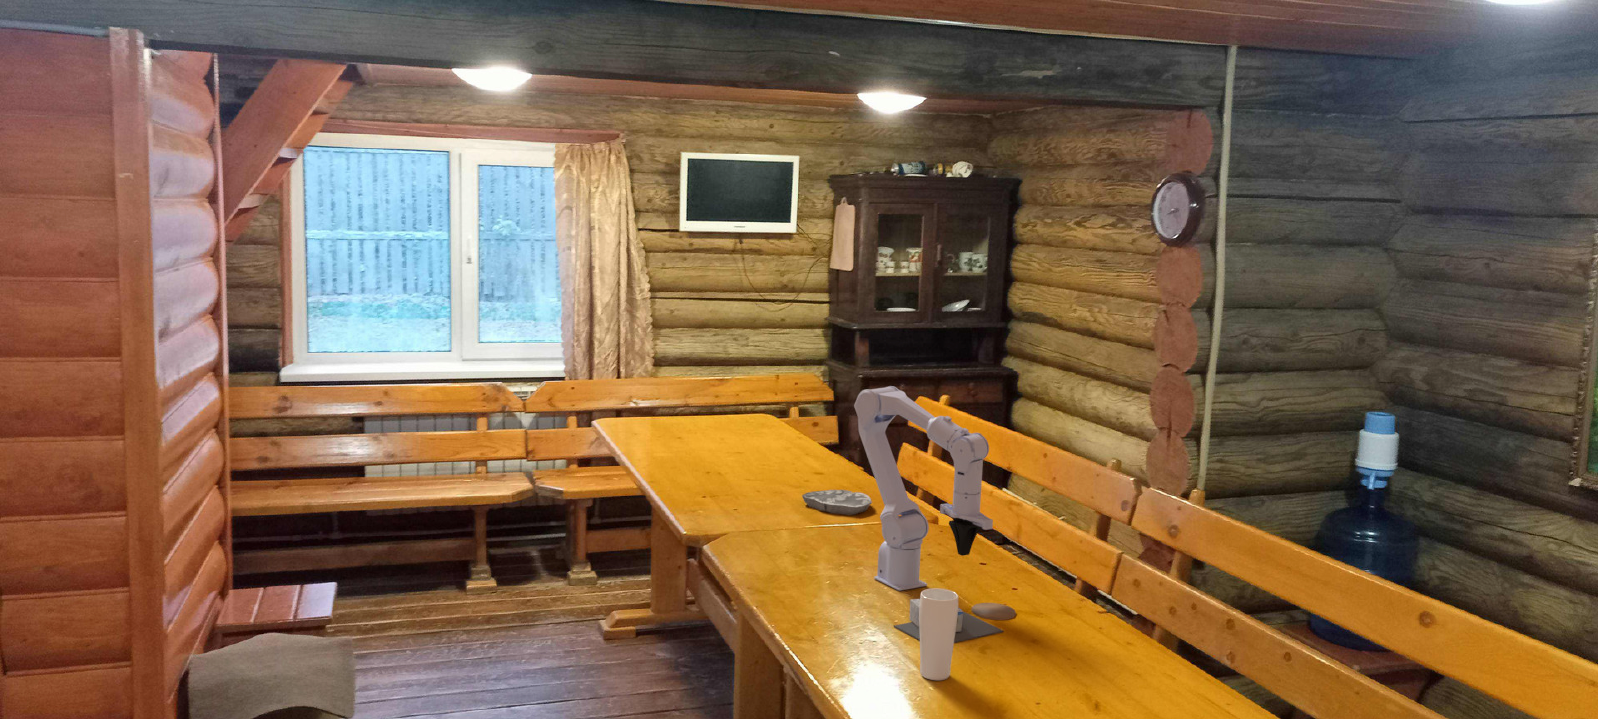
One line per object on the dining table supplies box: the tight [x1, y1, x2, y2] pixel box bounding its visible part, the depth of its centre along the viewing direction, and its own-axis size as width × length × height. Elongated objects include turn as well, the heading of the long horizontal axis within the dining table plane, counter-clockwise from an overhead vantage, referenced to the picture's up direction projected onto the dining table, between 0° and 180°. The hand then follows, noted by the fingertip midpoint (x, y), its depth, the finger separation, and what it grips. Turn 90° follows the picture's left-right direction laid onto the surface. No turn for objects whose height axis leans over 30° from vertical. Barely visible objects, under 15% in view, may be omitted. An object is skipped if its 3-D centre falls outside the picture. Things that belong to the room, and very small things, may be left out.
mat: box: [893, 610, 1004, 644], centre depth 224 cm, size 12×18×1 cm, turn 123°
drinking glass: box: [919, 587, 959, 682], centre depth 200 cm, size 7×7×15 cm
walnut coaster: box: [971, 602, 1017, 621], centre depth 235 cm, size 9×9×1 cm
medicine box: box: [908, 598, 963, 632], centre depth 225 cm, size 8×4×9 cm
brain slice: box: [801, 489, 873, 516], centre depth 315 cm, size 20×17×3 cm
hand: (963, 554), depth 240 cm, fingers closed
